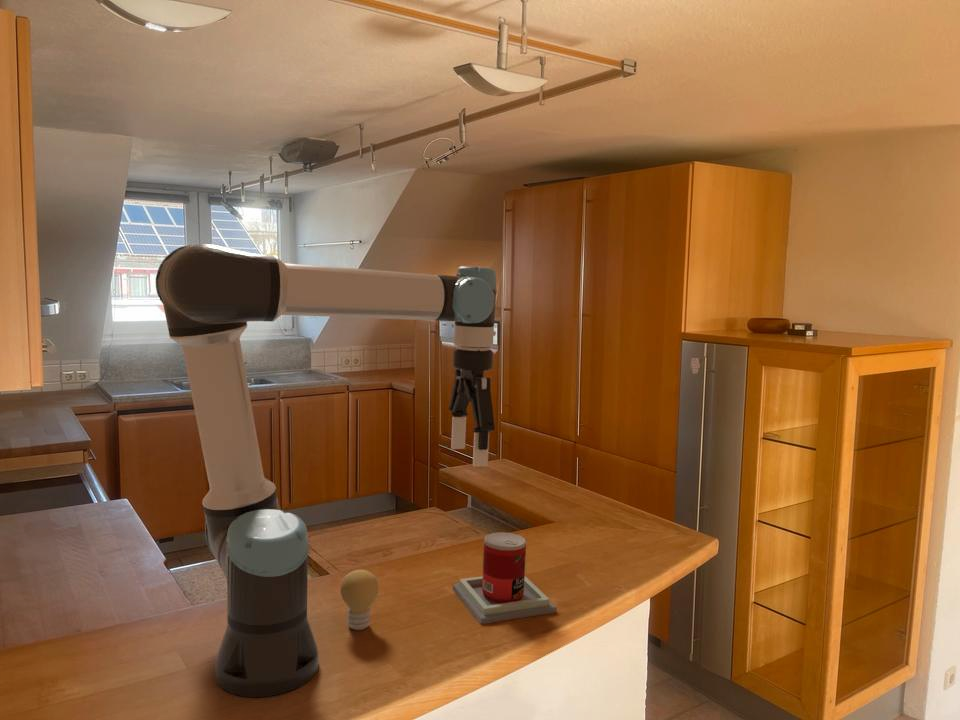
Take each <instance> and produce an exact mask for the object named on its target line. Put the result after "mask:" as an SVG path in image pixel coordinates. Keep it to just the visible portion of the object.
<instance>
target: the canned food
mask: <svg viewBox="0 0 960 720" xmlns="http://www.w3.org/2000/svg"><path fill="white" fill-rule="evenodd" d="M526 542H527V540H526V539H525V537H523V536H521V535H520V534H519V535H518V534H516V533H513V532H505V531H504V532H503V531H502V532H500V531H498V532H492V533H489V534H486V535H485V536H484V539H483V554H482V555H483V556H482V557H483V558H482V576H483V581H482V591H483V595H484V596H485V597H486V598H487V599H488V600H490V601H493V602H497V603H509V602H516V601H519V600H520V599H521V598H522V596H523V593H524V578H525V577H526V576H525V574H526V557H527V555H526V553H527V543H526Z"/></svg>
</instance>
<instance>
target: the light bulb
mask: <svg viewBox="0 0 960 720" xmlns="http://www.w3.org/2000/svg"><path fill="white" fill-rule="evenodd" d="M378 593H379V582H378V579H377V577H376V576H375V575H374V574H373V573H372V572H370V571H368V570H365V569H356V570H352V571H350V572H348V574H347V573H346V575H345V576H344V577H343V579H342V581H341V583H340V595H341V598H342V601H343V602H344V604H345V605H346V606H347V607H348V609H347V614H348V615H347V625H348V627H350V629H352V630H354V631H361V630H362V631H363V630H366V628H367V627H369V626H370V623H371V620H370V618H371V614H370V613H371V608H370V606H372V604H373V603H374V602H375V600H376V598H377V597H378Z"/></svg>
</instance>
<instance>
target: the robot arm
mask: <svg viewBox="0 0 960 720" xmlns="http://www.w3.org/2000/svg"><path fill="white" fill-rule="evenodd" d="M155 289H156V294H157V296H158V298H159V301H160V302H161V304H162V305H163V309H164V315H165V321H166V325H167V330H168V336H169V338H170V339H171V340H173V341H174V342H175V343H177V344H178V345H180V346H181V347H182V351H183V352H182V353H183V356H184V361H185V366H186V373H187V378H188V382H189V387H190V393H191V398H192V403H193V409H194V414H195V418H196V424H197V429H198V433H199V438H200V439H199V441H200V444H201V450H202V454H203V455H202V456H203V459H204V461H203V462H204V466H205V469H206V470H205V471H206V475H207V481H208V485H209V490H208V491H207V493H206V495H205V496H204V497H203V499H202V502H201V503H202V507H203V513H204V517H205V518H204V519H205V524H204V530H205V531H204V537H205V541H206V544H207V547H208V550H209V551H210V552H211V555H213V556H214V558H215V560H216V562H217V563H218V565H219V567H220V569H221V571H222V573H223V575H224V577H225V579H226V586H227V587H226V594H227V595H226V599H227V601H226V602H227V606H226V609H227V614H226V616H227V624H226V629H225V631H224V634H223V637H222V640H221V642H220V646H219V648H218V652H217V655H216V657H215V661H214V662H215V663H214V664H215V666H214V673H215V675H214V676H215V681H216V683H217V684H218V686H219V687H220V688H221V689H222V690H224V691H226V692H228V693H229V694H233V695H236V696H241V697H248V698H249V697H251V698H264V697H270V696H271V697H272V696H276V695H280V694H285V693H288V692H291V691H293V690H296V689H297V688H300V687H301V686H303V685H304V684H306V683H308V681H310V680H311V679H312V678H313V677H314V675H315V674H316V672H317V671H318V668H319V648H318V645H317V641H316V639H315V637H314V633H313V630H312V628H311V625H310V621H309V619H308V579H309V578H308V569H309V566H308V565H309V564H308V563H309V561H308V559H309V550H310V540H309V537H308V536H309V535H308V530H307V525H306V523H305V522H304V520H302V519H301V518H300V516H298V515H296V514H294V513H292V512H285V511H284V510H281V509H280V505H279V498H278V493H277V487H276V485H275V483H274V482H272V481H271V480H269V479H268V478H266V477H265V475H264V470H263V464H262V463H263V462H262V457H261V451H260V445H259V440H258V436H257V429H256V424H255V417H254V412H253V407H252V401H251V397H250V396H251V395H250V390H249V384H248V379H247V374H246V366H245V362H244V356H243V351H242V344H241V340H240V339H241V336H242V334H243V333H244V332H245V330H247V328H248V323H249V322H269V323H270V322H275V321H277V320H278V318H280V317H281V316H299V317H300V316H302V317H303V316H305V317H331V318H332V317H333V318H334V317H336V318H359V319H360V318H361V319H362V318H363V319H386V320H387V319H388V320H389V319H391V320H411V321H412V320H413V321H414V320H415V321H416V320H417V321H436V322H454V328H453V329H454V331H453V345H454V346H455V347H456V348H454V349H453V359H452V360H453V361H452V363H453V364H452V365H453V367H454V369H455V372H454V373H455V375H454V382H453V387H452V392H451V397H450V401H449V405H448V411H449V412H451V414H450V415H451V418H452V419H451V421H452V422H451V423H452V424H451V441H450V442H451V443H450V448H451V449H452V450H465V449H466V434H467V433H466V432H467V416H468V415H469V414H468V411H467V409H468V407H469V404H471V409H472V414H473V421H474V424H475V427H474V428H473V430H472V432H473V450H472V451H473V453H472V467H474V468H475V467H488V465H489V446H490V433H491V432H493V431H495V428H496V426H495V417H494V409H493V402H492V391H491V382H492V381H491V378H490V377H485V376H484V371H490V370H491V369H492V368H493V360H494V359H493V358H494V351H493V350H492V349H490V348H493V346H494V337H495V336H496V334H497V332H496V331H495V317H496V316H495V315H496V301H497V299H496V298H497V297H496V296H497V293H498V291H497V273H496V270H495V269H493V268H492V267H485V266H463V265H462V266H459V267H458V268H457V269H456V274H455V275H447V274H446V275H445V274H435V273H434V274H433V273H432V274H431V273H421V272H417V273H416V272H405V271H404V272H403V271H395V270H394V271H392V270H380V269H378V270H377V269H367V268H351V267H341V266H326V265H314V264H312V265H311V264H300V263H286V262H285V263H284V262H282V260H281V259H280V258H279V257H278V256H277V255H273V254H262V253H254V252H249V251H245V250H240V249H236V248H230V247H227V246H224V245H223V246H222V245H219V244H212V243H202V244H191V243H190V244H188V245H183V246H180V247H178V248H176V249H174V250H172V252H170V253H168V255H166V256H165V258H164V259H163V260H162V261H161V263H160V264H159V267H158V269H157V273H156V276H155Z"/></svg>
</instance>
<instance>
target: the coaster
mask: <svg viewBox="0 0 960 720" xmlns="http://www.w3.org/2000/svg"><path fill="white" fill-rule="evenodd" d="M458 581H459V582H456V583H452V590H453V591H454V593H455V594H456V595H457V597H459V599H460V600H461V601H462V603H463V604H464V606H466V607H467V609H468V611H469V612H471V614H472V615H473V616H474V618H475V619H476V620H477V621H478V623H479V624H480V625H485V624H490V623H496V622H503V621H508V620H516V619H521V618H527V617H535V616H542V615H547V613H548V614H553V613H554V612H555V613H557V606H556V605H555V604H554V603H553V602H552V601H551V599H550V598H549V597H548V596H547V595H545V593H544V592H542V590H541V589H539V588H538V587H537V586H536V584H534V583H533V582H532V581H531V580H530V579H529V578H528V577H527V576H525V578H524V593H523V596H522V598H521V599H520V600H519V601H516V602H509V603H497V602H493V601H490V600H488V599H487V598H486V597H485V596H484V595H483V591H482V581H483V575H481V576H476V577H475V576H474V577H466V578H460V579H459V580H458ZM555 613H554V614H555Z"/></svg>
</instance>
